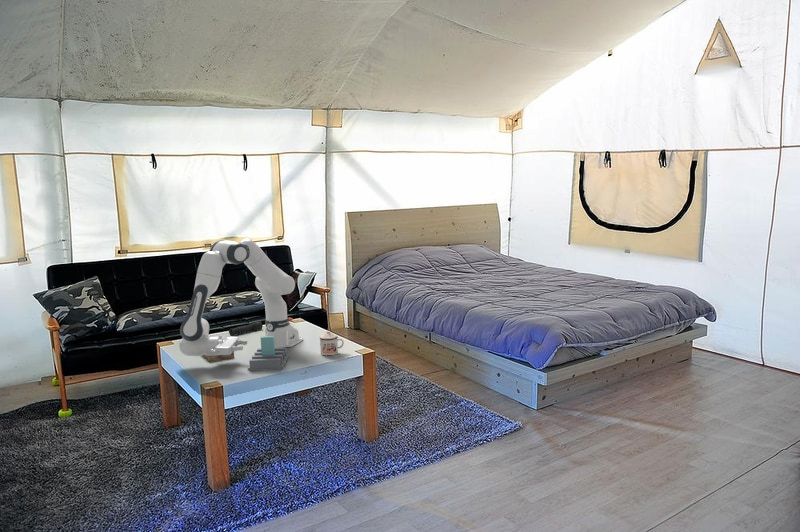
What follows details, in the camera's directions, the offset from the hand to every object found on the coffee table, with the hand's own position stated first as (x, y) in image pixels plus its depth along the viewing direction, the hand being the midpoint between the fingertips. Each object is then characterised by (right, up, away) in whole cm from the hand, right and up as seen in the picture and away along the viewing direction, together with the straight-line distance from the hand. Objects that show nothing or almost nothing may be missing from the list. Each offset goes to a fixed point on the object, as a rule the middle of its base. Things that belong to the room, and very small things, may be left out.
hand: (244, 345), depth 279 cm
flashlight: (-16, -2, +63) cm, 65 cm away
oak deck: (-18, -8, +17) cm, 26 cm away
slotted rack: (+11, -9, +2) cm, 14 cm away
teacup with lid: (+40, -7, +16) cm, 43 cm away
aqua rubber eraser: (+11, -8, +2) cm, 14 cm away
